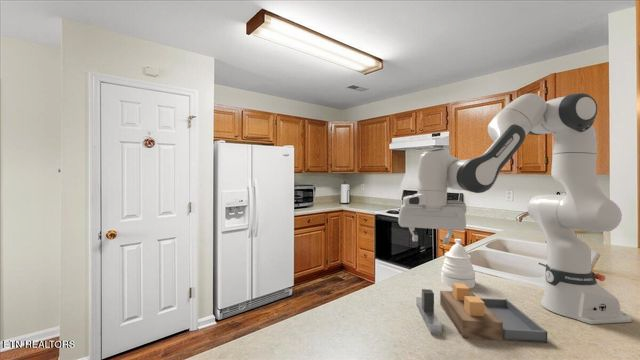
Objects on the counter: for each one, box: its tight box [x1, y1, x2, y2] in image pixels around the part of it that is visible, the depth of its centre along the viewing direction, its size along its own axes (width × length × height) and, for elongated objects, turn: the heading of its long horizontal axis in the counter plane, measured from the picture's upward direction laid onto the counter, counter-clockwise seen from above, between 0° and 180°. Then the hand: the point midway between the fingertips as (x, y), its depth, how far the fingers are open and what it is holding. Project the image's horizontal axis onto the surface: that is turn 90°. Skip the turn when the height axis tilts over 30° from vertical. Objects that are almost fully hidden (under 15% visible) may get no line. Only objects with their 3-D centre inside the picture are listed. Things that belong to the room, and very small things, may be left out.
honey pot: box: [441, 238, 476, 289], centre depth 118 cm, size 13×13×18 cm
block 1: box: [451, 283, 471, 300], centre depth 93 cm, size 4×4×4 cm
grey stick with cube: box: [415, 288, 442, 336], centre depth 89 cm, size 3×18×9 cm, turn 173°
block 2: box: [464, 295, 484, 316], centre depth 83 cm, size 4×4×4 cm
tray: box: [479, 297, 548, 344], centre depth 86 cm, size 12×20×3 cm, turn 174°
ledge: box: [439, 290, 504, 341], centre depth 88 cm, size 10×20×5 cm, turn 174°
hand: (430, 242), depth 89 cm, fingers open, 8 cm apart
